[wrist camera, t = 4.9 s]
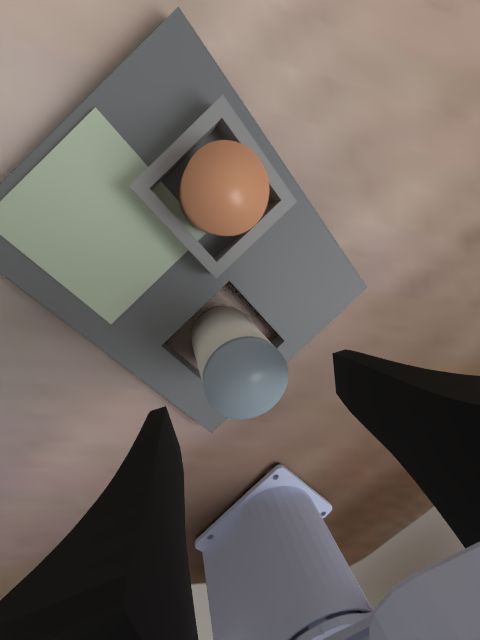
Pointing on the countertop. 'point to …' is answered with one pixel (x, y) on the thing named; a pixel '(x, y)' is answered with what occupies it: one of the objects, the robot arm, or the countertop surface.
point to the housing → (162, 221)
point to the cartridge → (237, 364)
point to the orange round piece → (224, 188)
